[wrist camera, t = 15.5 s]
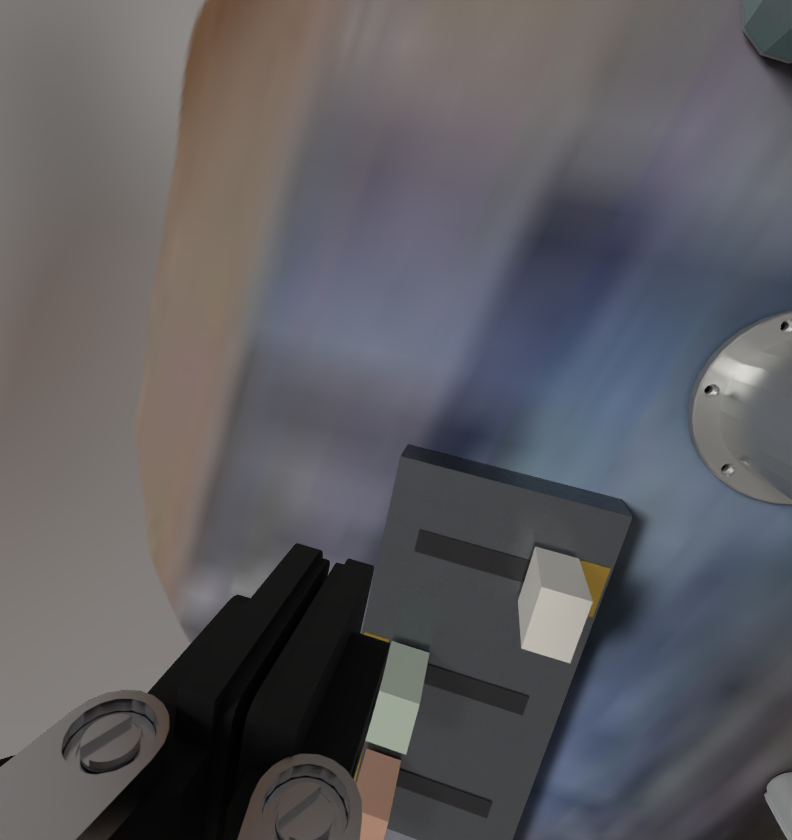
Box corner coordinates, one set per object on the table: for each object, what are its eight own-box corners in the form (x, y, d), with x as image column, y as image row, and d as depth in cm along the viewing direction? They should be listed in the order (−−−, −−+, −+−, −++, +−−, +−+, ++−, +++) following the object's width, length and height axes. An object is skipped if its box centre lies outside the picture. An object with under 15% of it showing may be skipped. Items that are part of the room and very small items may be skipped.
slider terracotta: (401, 760, 41) (388, 822, 36) (390, 800, 42) (376, 864, 37) (366, 748, 41) (349, 807, 36) (357, 788, 42) (339, 850, 37)
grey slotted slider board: (621, 499, 35) (633, 517, 32) (500, 834, 45) (501, 871, 42) (407, 444, 38) (400, 456, 35) (335, 774, 47) (324, 806, 44)
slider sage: (429, 652, 38) (419, 704, 33) (417, 698, 39) (406, 754, 34) (392, 640, 38) (376, 690, 33) (381, 686, 39) (365, 740, 34)
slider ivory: (579, 558, 33) (592, 601, 29) (560, 613, 35) (570, 663, 30) (535, 546, 34) (541, 586, 29) (517, 600, 35) (521, 648, 30)
